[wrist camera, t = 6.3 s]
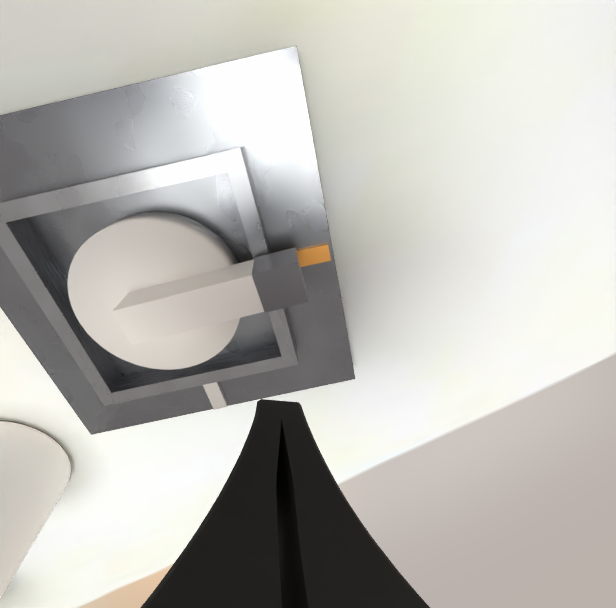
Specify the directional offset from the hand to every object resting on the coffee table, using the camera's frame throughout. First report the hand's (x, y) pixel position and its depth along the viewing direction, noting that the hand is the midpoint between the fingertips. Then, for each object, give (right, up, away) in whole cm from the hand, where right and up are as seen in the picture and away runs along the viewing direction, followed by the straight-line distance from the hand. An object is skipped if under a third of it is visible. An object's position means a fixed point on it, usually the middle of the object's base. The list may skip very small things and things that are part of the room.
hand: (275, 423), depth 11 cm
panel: (-6, +5, +8) cm, 12 cm away
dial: (-5, +5, +7) cm, 10 cm away
